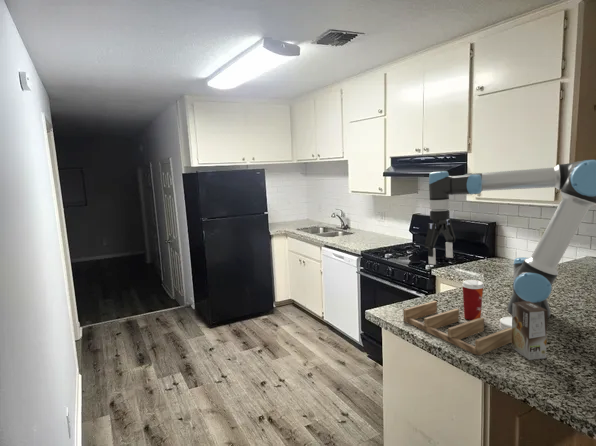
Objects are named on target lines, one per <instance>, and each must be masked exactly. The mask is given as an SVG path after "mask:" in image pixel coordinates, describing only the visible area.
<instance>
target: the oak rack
mask: <svg viewBox="0 0 596 446" xmlns="http://www.w3.org/2000/svg"><path fill="white" fill-rule="evenodd" d="M402 310H403V313H402V314H403V315H402V316H403V317H402V318H403V322H405V323H407V324H409V325H411V326H413V325H414V326H413V327H415V326H416V328H417V327H418V329H419V328H420V330H422V331H424V332H425V333H429V334H431V335H433V336H435V337H436V338H439V339H442V340H443V341H446V342H448V343H450V344H452V345H454V346H456V347H459V348H461V349H463V350H464V351H468V352H470V353H471V354H474V355H476V356H477V357H479V356H481V355H484V354H486V353H490V352H491V351H494V350H497V349H499V348H502V347H504V346H506V345H509V344H512V328H507V329H504V330H501V329H500V330H498V331H496V332H494V333H491V334H489V335H488V334H487V335H485V336H483V337H479V338H477V339H475V341H474V342H475V343H474V344H475V345H473V344H470V343H468V342H466V341H463V339H466V338H468V337H471V336H474V335H477V334H479V333H482V332H484V330H485V329H484V328H485V327H484V326H485V325H484V323H485V322H484V321H485V318H484V317H481V318H478V319H475V320H472V321H471V320H468V321H466V322H463V323H460V324H457V325H454V326H451V327H448V328H447V333H446V332H444V331H441V330H439V328H442V327H445V326H449V325H452V324H454V323H457V322H459V320H460V312H459V311H460V309H459V308H453V309H450V310H447V311H443V312H440V313H438V311H437V310H438V301H437V300H432V301H428V302H425V303H421V304H417V305H414V306H411V307H406V308H404V309H402ZM426 316H428V317H426ZM420 318H423V322H420V321H419V320H418V319H420Z"/></svg>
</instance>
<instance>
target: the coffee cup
mask: <svg viewBox="0 0 596 446" xmlns="http://www.w3.org/2000/svg"><path fill="white" fill-rule="evenodd" d="M461 287H462V297H463V298H462V299H463V300H462V301H463V316H464V317H463V318H464V319H465V320H467V321H472V320H475V319H478V318H482V306H483V305H482V304H483V295H484V294H483V293H484V288H485V285H484V283H483V281H480V280H475V279H466V280H463V282H462V283H461Z"/></svg>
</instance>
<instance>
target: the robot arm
mask: <svg viewBox="0 0 596 446" xmlns="http://www.w3.org/2000/svg"><path fill="white" fill-rule="evenodd" d="M428 177H429V178H428V192H429V193H428V194H429V196H428V197H429V201H428V203H429V209H430V211H429V218H430V220H432V223H428V226H427V232H426V236H425V237H426V238H425V240H424V241H425V242H424V245H423V246H424V248H425V249H427V254H428V256H427V257H428V265H432V266H433V265H436V264H437V260H436V259H437V258H436V248H435V246H436V243H437V240H438V238H439V235H441V234H442V235H443V237H444V239H445V241H446V242H445V258H451V259H453V258H454V253H453V252H454V250H453V243H455V242H456V235H455V232H454V228H453V225H452V220H451V219H450V210H449V209H450V195H451V196H453V195H455V196H457V195H476V194H477V195H478V194H479V195H480V194H481V193H482V192H486V191H487V192H488V191H506V190H507V191H509V190H510V191H511V190H527V189H528V190H529V189H544V188H545V189H546V188H556V189H557V190H559V193H560V195H561V196H562V198H561V201H560V202H559V204H558V205H557V208H556V210H555V212H554V213H553V215H552V217H551V218H550V220H549V223H548V225H547V226H546V228H545V230H544V232H543V234H542V235H541V237H540V240H539V241H538V243H537V245H536V247H535V249H534V250H533V252H532V255H531V256H529V257H521V256H520V257H516V258H514V260H513V264H512V265H513V280H512V283H513V284H512V285H513V286H512V294H511V297H510V298H509V301H508V304H507V312H508V313H510V314H511V315H512V306H513V303H515V302H524V301H530V302H532V303H534V304H536V305H538V306H540V307H542V308H544V309H546V310H548V317H547V319H549V318H550V317H551V308H550V305H549V301H548V298H549V297H550V295H551V293H552V288H553V287H552V286H553V284H554V282H555V280H557V279H556V278H557V277H558V275H559V272H558V268H557V267H558V265H559V264H560V262H561V260H562V258H563V256H564V254H565V253H566V251H567V249H568V247H569V245H570V244H571V242H572V240H573V239H574V237H575V235H576V233H577V232H578V230H579V228H580V226H581V224H582V223H583V220H584V219H585V217H586V215H587V213H588V212H589V210H590V209H591V207H594V206H596V159H583V160H578V161H574V162H569V163H562V164H561V163H560V164H557V165H555V167H542V168H530V169H516V170H515V169H514V170H504V171H503V170H501V171H490V172H475V173H473V172H471V173H469V172H468V173H465V174H463V175H462V174H461V175H450V174H449V172H448V171H447V170H445V171H433V172H429V175H428Z"/></svg>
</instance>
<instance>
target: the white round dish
mask: <svg viewBox="0 0 596 446" xmlns="http://www.w3.org/2000/svg"><path fill="white" fill-rule="evenodd" d="M507 328H512V316H503V317H501V318H500V319H499V329H500V331H501V330H504V329H507Z"/></svg>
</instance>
